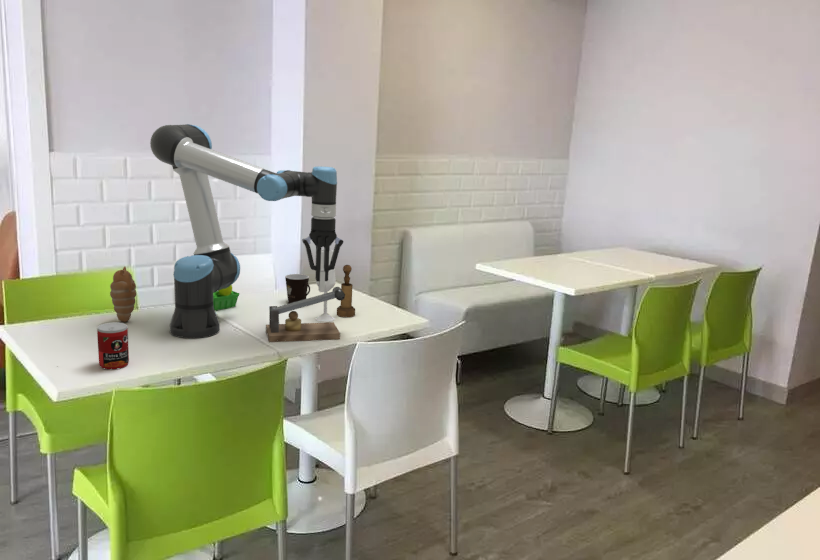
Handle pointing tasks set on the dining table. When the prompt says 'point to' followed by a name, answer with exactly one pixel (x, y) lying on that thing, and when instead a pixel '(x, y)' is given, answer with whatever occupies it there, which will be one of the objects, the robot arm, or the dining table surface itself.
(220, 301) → the fruit basket
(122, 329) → the canned food
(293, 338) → the nutcracker base
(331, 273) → the champagne flute
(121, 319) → the brown ridged tall ovoid
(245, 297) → the dining table surface
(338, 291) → the lever
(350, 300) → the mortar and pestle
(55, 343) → the dining table surface
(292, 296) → the coffee mug
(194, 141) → the robot arm
